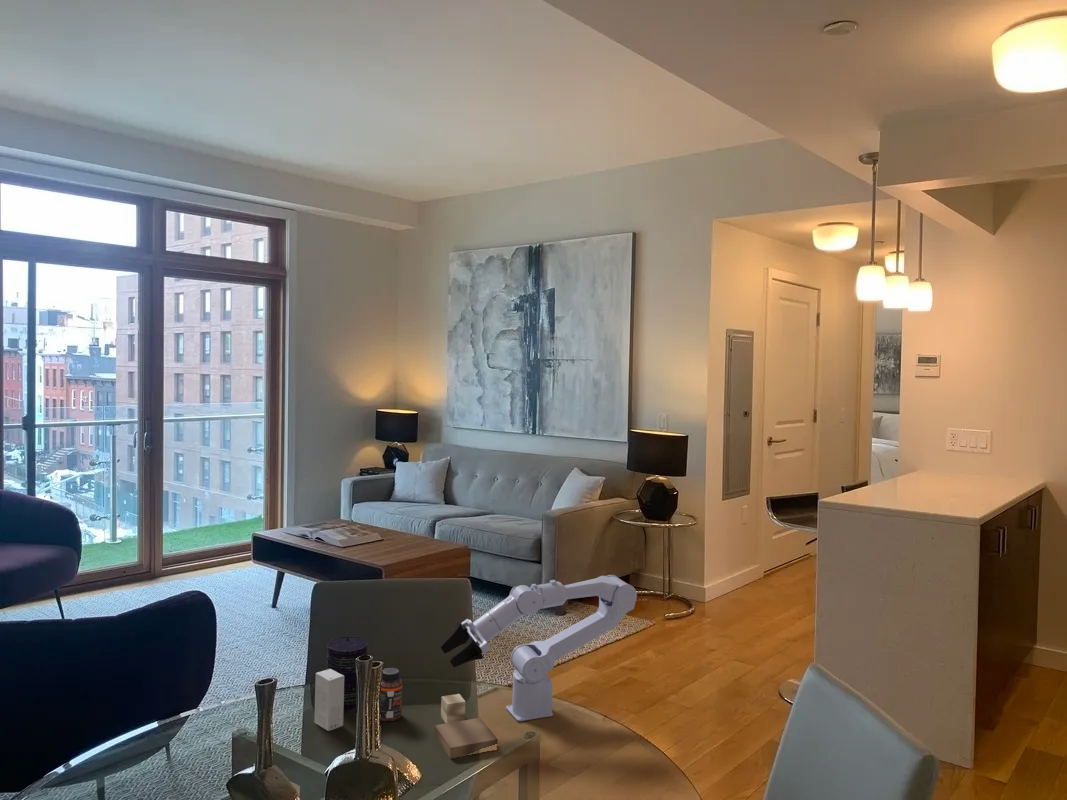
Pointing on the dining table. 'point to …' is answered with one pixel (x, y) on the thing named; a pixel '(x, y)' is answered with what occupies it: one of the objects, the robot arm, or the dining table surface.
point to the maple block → (452, 708)
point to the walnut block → (464, 737)
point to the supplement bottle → (391, 695)
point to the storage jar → (346, 664)
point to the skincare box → (329, 699)
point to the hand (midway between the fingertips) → (446, 656)
